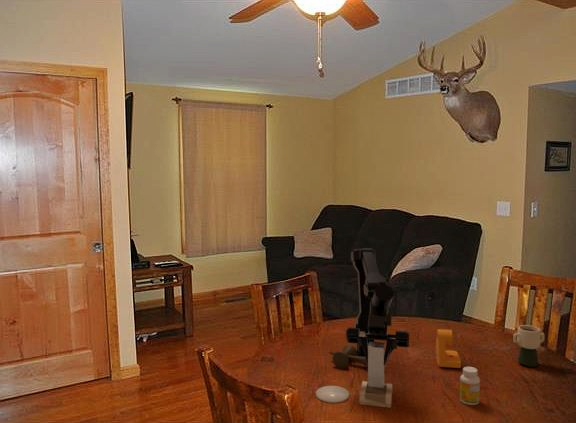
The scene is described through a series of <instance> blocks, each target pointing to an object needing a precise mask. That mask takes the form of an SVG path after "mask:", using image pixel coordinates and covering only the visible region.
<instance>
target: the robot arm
mask: <svg viewBox="0 0 576 423" xmlns="http://www.w3.org/2000/svg"><path fill="white" fill-rule="evenodd" d="M376 256H377V255H376V250H375V249H374V248H371V247H370V248H368V247H367V248H355V249H353V250H352V251H351V253H350V259H351V260H350V261H351V262H352V266H353V269H354V270H356V272H357V284H358V287H357V288H358V303H359V304H358V305H359V313H358V314H357V316H356V318H355V323H354V326H353V327H351V326H350V327H347V328H346V330H345V337H346V342H347V343H349V344H356V350H357V356H360V357H366V361H367V364H368V345H369V341H370V342H375V341H384V342H385V341H386V342H385V354H384V366H386V365H387V362H388V360H389V358H390V356H391V354H392V353H393V352H394V350H397V349H398V348H409V347H410V333H409V332H408V331H407V330H406V331H405V330H395V334H388V326H389V327H391V326H393V325H392V324H393V323H392V322H393V320H392V319H393V315H392V314H389V307H390V306H391V303H392V301H393V299H394V296H395V291H394V290H393V288H392V287H391V286H390V285H389V284H388V283H387V281H386V279H385V278H386V277H385V276H383V275H381V274H380V272H379V268H378V264H377V261H376V259H377V257H376Z"/></svg>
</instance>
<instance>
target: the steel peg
mask: <svg viewBox="0 0 576 423" xmlns="http://www.w3.org/2000/svg"><path fill="white" fill-rule="evenodd" d="M385 349H386V342H381V341H380V342H379V341H374V342H370V341H369V345H368V368H367V382H368V386H370V387H380V388H384V383H385V365H384V355H385Z"/></svg>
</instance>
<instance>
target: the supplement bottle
mask: <svg viewBox="0 0 576 423" xmlns="http://www.w3.org/2000/svg"><path fill="white" fill-rule="evenodd" d="M459 379H460V381H459V384H460V385H459V400H460V402H461V403H463V404H466V405H469V406H477V405H478V404H480V392H481V391H480V389H481V388H480V387H481V379H480V377H479V376H478V369H477V368H476V367H472V366H464V367H463V368H462V374H461V375H460V377H459Z"/></svg>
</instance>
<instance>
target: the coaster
mask: <svg viewBox="0 0 576 423" xmlns="http://www.w3.org/2000/svg"><path fill="white" fill-rule="evenodd" d="M315 396H316V398H317V399H318V400H320V401H322V402H324V403H328V404H338V403H344V402H345V401H347V400H348V399H349V398H350V392H349V391H348V389H347V388H344V387H341V386H337V385H326V386H322V387H319V388H318V389H317V390H316V392H315Z"/></svg>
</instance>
